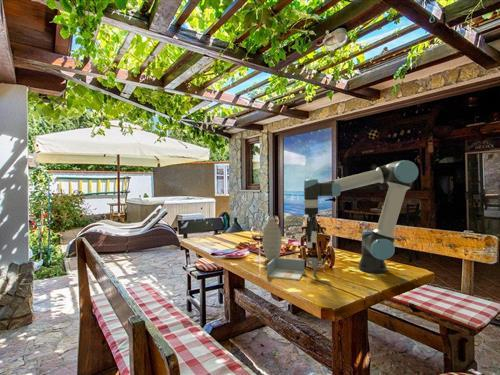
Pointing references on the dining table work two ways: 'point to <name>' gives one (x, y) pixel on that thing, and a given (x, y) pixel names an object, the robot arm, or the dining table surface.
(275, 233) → the vase
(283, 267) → the tray
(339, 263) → the dining table surface
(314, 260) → the mechanical component
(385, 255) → the robot arm
